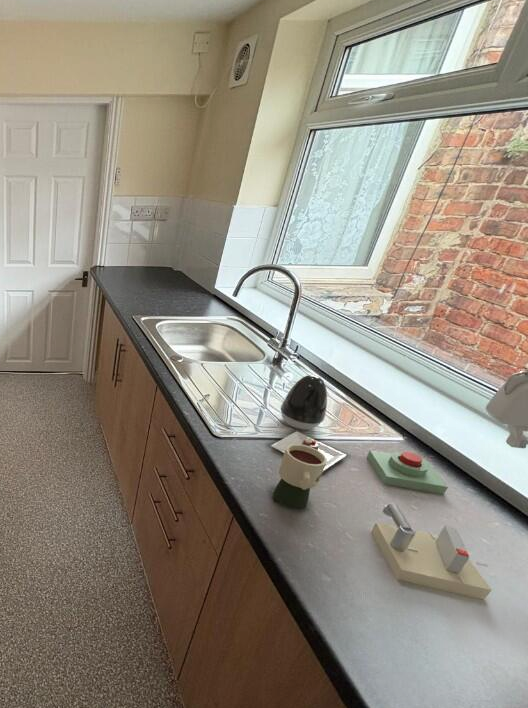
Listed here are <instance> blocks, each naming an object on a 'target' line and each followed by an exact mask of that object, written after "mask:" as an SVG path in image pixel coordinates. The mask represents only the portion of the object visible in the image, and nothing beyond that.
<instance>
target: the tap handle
mask: <svg viewBox="0 0 528 708" xmlns="http://www.w3.org/2000/svg"><path fill="white" fill-rule="evenodd" d="M438 535H439V536H438V538H437V539H436V544H437V546H438V549H439V552H440V554H441V557H442V560H443V562H444V565H445V568H446V570H448V571H451V572H454V573H457V574H459V573H460V571H461V570H462V568H463V567H464V565H465V564H466V562H467V561H468V559H469V560H470V554H469V553H468V551H467V548H466V547H465V544H464V543H463V540H462V537H461V536H460V533H459V531H458V528H455V527H452V526H448V525H444V526H443V528H442V529H441V531H440V533H439V534H438Z"/></svg>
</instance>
